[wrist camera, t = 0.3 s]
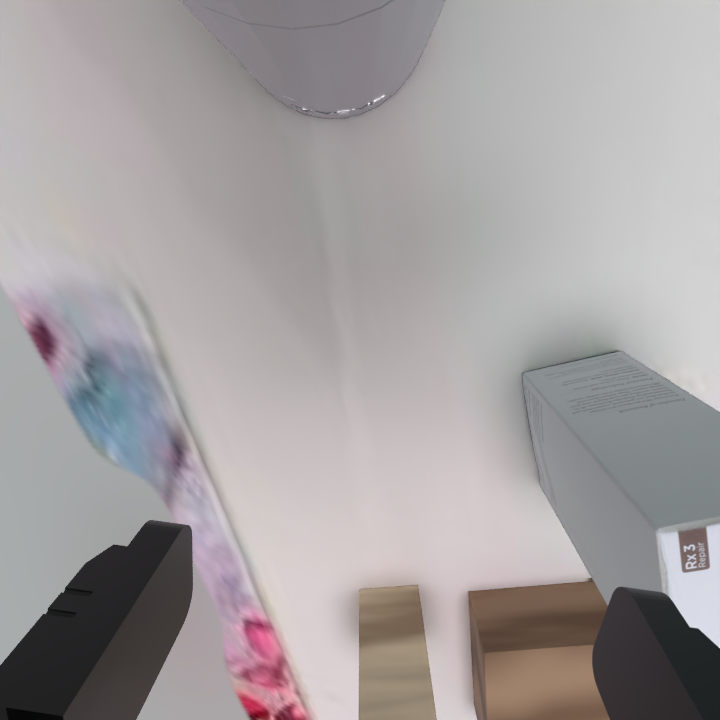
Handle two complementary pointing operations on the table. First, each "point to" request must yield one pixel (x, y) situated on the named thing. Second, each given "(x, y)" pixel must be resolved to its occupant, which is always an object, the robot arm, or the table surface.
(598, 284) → the table surface
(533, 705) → the walnut block
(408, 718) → the oak post
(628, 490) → the skincare box
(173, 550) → the robot arm
